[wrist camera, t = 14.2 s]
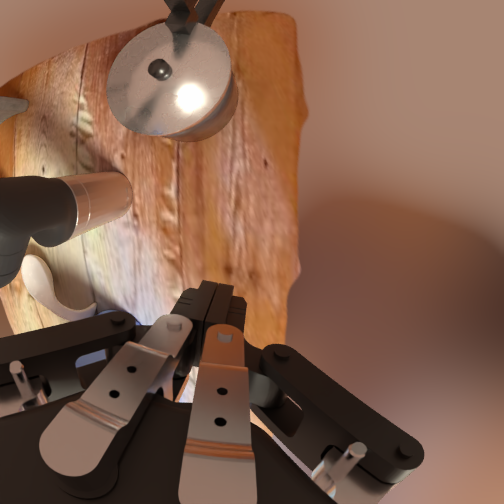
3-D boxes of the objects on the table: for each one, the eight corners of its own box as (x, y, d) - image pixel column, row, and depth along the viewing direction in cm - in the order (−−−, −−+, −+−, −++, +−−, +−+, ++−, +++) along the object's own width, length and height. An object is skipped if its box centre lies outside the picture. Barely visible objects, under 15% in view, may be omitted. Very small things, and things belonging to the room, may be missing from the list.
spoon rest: (27, 280, 54) (11, 291, 47) (31, 242, 51) (12, 250, 44) (93, 327, 56) (78, 343, 49) (101, 289, 53) (84, 303, 46)
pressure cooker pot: (219, 153, 44) (202, 148, 32) (137, 130, 43) (99, 121, 31) (267, 36, 37) (268, -2, 25) (185, 19, 36) (165, -15, 24)
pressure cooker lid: (205, 150, 31) (188, 145, 24) (96, 124, 30) (62, 118, 23) (270, -8, 24) (272, -40, 16) (163, -19, 23) (146, -46, 15)
